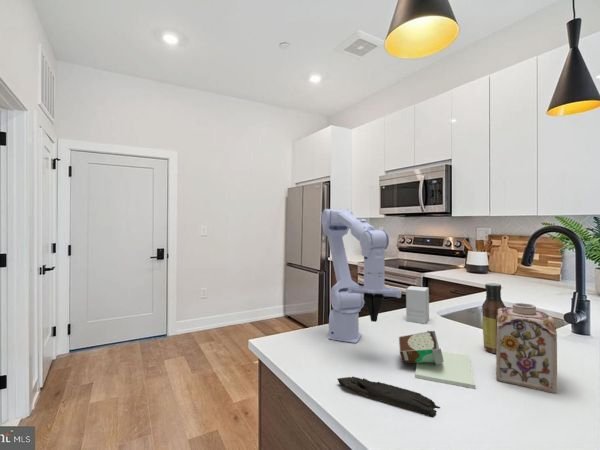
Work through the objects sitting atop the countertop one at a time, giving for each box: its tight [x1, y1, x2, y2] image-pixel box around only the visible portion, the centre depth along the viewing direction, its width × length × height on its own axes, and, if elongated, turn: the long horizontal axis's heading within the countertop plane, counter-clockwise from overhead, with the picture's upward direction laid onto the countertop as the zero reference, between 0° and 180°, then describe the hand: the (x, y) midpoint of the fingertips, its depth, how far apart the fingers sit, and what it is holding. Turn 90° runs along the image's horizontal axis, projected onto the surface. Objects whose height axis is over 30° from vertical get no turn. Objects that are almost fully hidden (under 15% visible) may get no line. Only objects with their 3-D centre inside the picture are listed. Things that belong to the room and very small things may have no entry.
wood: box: [337, 376, 441, 418], centre depth 71 cm, size 22×7×3 cm, turn 59°
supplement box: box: [405, 285, 430, 324], centre depth 125 cm, size 7×7×13 cm
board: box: [414, 350, 476, 389], centre depth 84 cm, size 13×18×1 cm
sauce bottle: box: [482, 282, 507, 355], centre depth 95 cm, size 6×6×20 cm
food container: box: [398, 330, 444, 365], centre depth 86 cm, size 12×6×10 cm
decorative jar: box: [495, 302, 558, 394], centre depth 79 cm, size 12×12×18 cm
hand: (374, 320), depth 90 cm, fingers closed
